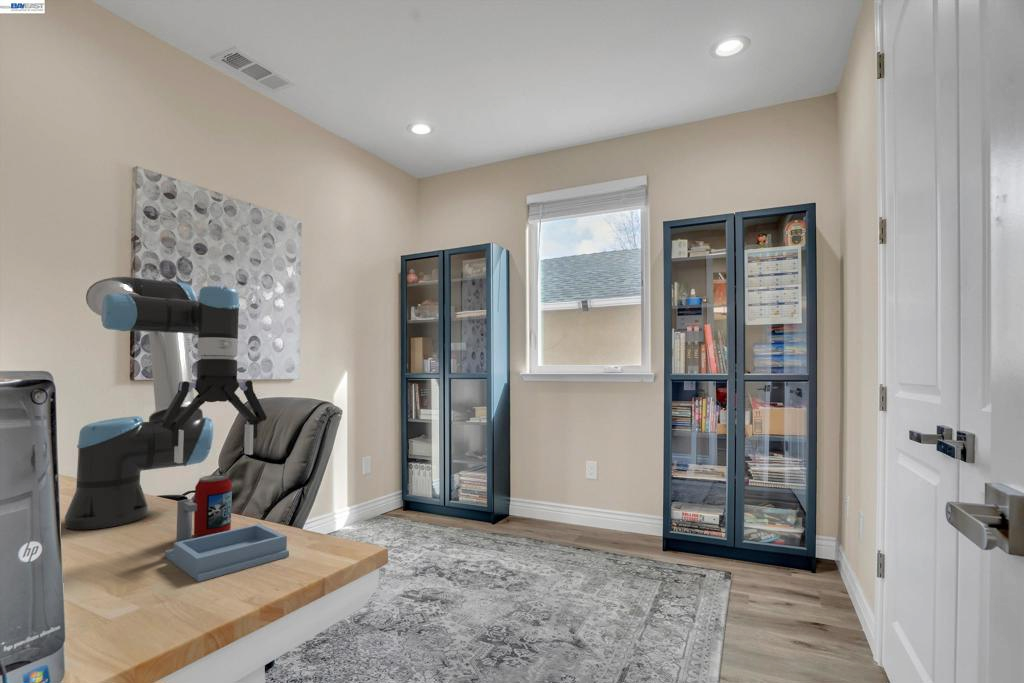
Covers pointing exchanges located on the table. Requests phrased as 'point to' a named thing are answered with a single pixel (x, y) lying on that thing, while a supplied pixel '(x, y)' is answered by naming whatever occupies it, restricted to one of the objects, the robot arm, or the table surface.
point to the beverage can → (212, 505)
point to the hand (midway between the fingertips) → (215, 458)
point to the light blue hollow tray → (222, 547)
